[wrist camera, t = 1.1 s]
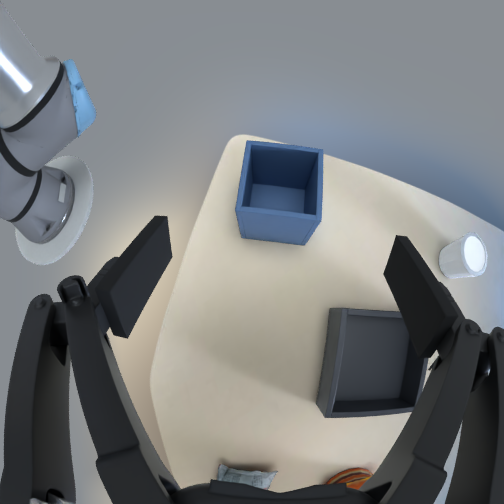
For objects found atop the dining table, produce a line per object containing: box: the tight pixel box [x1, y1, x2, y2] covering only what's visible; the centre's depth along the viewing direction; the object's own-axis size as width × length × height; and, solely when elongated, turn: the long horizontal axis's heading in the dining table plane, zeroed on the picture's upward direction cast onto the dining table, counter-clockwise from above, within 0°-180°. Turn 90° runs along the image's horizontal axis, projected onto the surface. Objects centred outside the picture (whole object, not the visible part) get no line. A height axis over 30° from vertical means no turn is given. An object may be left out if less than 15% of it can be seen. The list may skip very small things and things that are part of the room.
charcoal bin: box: [316, 308, 428, 418], centre depth 32 cm, size 14×14×6 cm
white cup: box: [439, 232, 487, 278], centre depth 34 cm, size 7×7×7 cm
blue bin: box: [235, 140, 323, 245], centre depth 34 cm, size 9×9×11 cm
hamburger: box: [327, 468, 373, 490], centre depth 26 cm, size 9×10×7 cm
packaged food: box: [217, 464, 278, 490], centre depth 28 cm, size 9×12×5 cm
